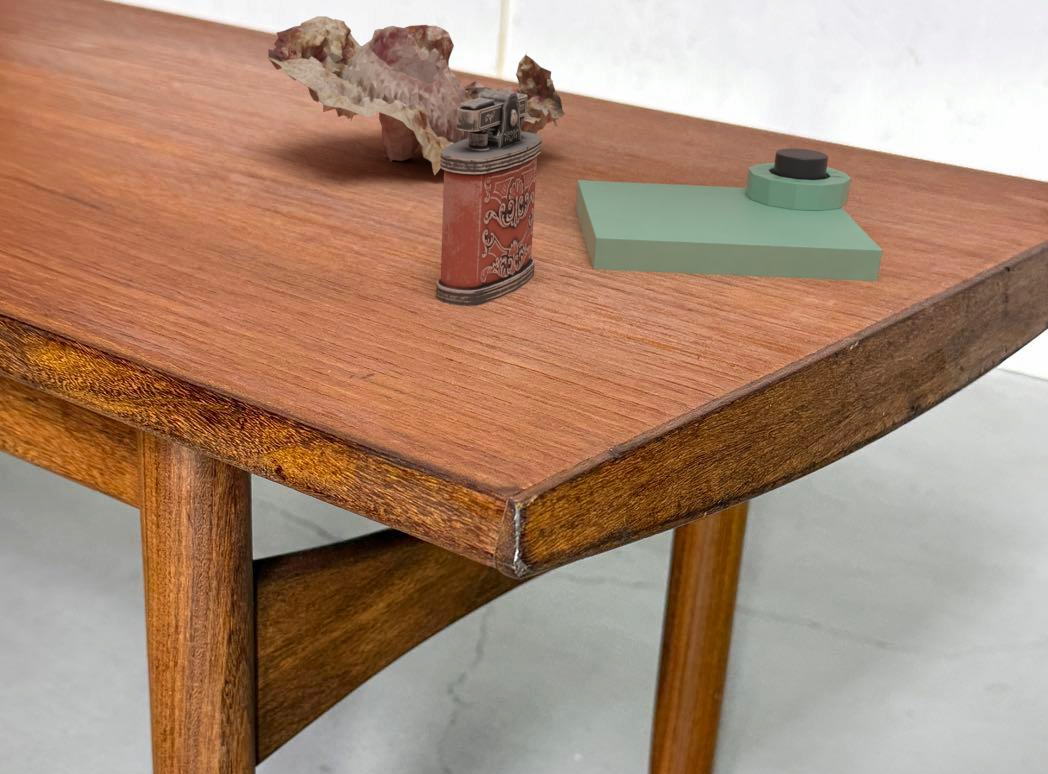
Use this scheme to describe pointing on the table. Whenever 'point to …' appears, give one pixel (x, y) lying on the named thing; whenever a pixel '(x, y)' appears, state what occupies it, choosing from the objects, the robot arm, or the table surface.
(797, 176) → the power button
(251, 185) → the table surface
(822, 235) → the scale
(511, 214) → the lighter
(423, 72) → the mineral formation
